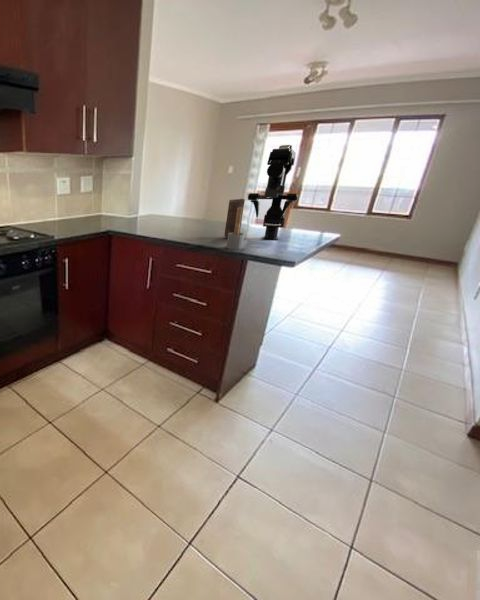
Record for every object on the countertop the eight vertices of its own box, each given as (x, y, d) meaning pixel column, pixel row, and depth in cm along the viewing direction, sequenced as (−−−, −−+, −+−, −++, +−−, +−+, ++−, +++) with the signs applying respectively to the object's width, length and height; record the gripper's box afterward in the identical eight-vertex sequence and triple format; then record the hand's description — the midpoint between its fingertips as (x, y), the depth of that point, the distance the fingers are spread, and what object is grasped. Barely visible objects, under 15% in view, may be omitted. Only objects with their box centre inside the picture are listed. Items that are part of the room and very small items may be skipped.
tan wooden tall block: (239, 240, 172) (245, 199, 164) (224, 239, 174) (229, 199, 166) (238, 237, 179) (243, 198, 171) (223, 236, 181) (228, 198, 173)
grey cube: (227, 246, 159) (229, 232, 157) (243, 247, 156) (245, 232, 154) (225, 249, 154) (227, 234, 151) (241, 251, 151) (243, 235, 148)
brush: (231, 246, 157) (236, 207, 150) (238, 247, 155) (244, 207, 149) (230, 248, 154) (235, 208, 148) (238, 248, 153) (243, 208, 146)
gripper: (248, 178, 141) (242, 216, 145) (301, 178, 131) (292, 218, 135) (252, 181, 150) (246, 216, 154) (301, 180, 140) (293, 218, 144)
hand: (268, 217), depth 146 cm, fingers open, 9 cm apart
